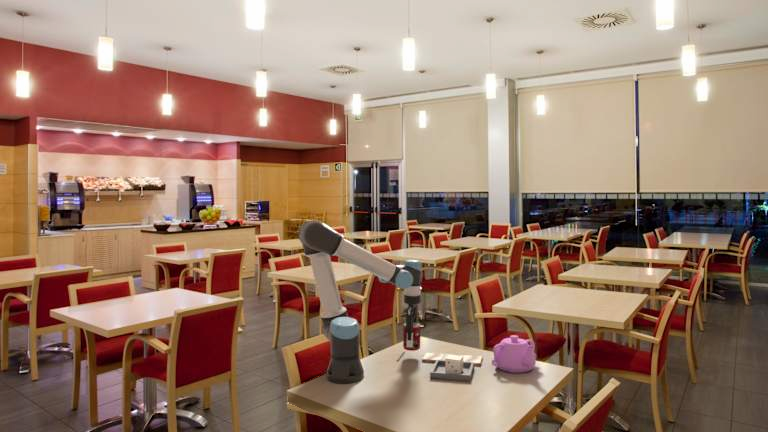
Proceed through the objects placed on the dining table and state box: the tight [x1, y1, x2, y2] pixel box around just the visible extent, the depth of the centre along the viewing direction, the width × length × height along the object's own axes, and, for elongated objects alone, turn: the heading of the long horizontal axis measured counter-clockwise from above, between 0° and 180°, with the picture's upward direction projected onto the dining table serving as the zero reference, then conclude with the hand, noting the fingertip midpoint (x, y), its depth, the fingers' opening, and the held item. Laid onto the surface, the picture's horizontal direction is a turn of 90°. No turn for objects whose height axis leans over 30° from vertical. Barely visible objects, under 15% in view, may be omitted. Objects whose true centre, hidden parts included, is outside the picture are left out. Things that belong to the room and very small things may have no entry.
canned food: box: [402, 322, 421, 352], centre depth 233 cm, size 8×8×11 cm
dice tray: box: [429, 360, 475, 382], centre depth 213 cm, size 16×16×2 cm
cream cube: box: [445, 353, 463, 374], centre depth 212 cm, size 6×6×6 cm
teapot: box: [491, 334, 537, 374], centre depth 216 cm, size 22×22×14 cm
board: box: [396, 351, 483, 367], centre depth 230 cm, size 37×13×1 cm, turn 75°
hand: (411, 344), depth 233 cm, fingers closed on canned food, 8 cm apart
